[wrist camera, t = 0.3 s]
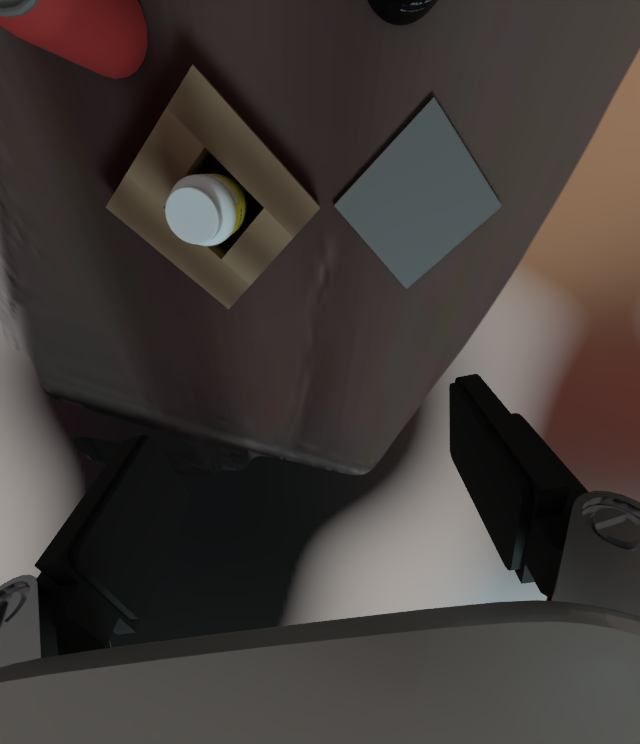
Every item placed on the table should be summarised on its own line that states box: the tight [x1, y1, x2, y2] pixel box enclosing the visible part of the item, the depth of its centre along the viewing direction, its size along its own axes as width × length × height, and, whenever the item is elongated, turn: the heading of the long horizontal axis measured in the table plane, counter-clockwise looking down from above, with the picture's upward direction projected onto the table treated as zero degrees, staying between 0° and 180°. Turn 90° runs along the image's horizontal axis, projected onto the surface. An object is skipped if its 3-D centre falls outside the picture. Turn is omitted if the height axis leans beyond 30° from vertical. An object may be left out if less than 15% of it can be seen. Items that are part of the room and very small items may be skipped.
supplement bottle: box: [165, 174, 247, 246], centre depth 29 cm, size 5×5×10 cm
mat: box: [334, 97, 502, 289], centre depth 33 cm, size 12×12×1 cm
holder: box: [106, 65, 320, 309], centre depth 32 cm, size 14×14×3 cm
